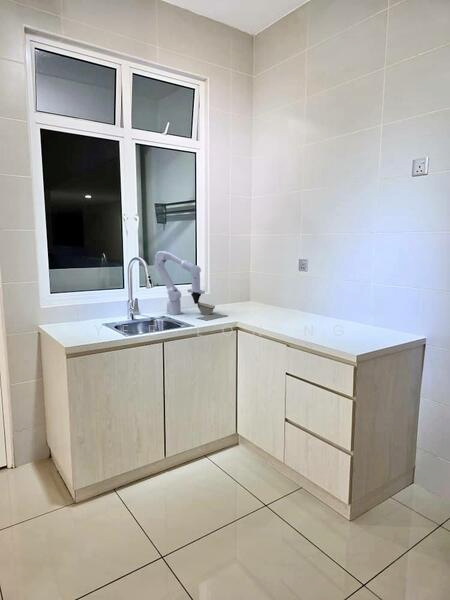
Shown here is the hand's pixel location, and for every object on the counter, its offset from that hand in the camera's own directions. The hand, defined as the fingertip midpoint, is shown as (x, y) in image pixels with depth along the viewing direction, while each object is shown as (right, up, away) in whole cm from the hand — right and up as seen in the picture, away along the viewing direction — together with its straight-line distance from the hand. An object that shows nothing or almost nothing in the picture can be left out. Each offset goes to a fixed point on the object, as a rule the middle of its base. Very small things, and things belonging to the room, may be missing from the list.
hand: (196, 303), depth 266 cm
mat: (+11, -9, -10) cm, 17 cm away
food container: (+6, -6, -3) cm, 9 cm away
